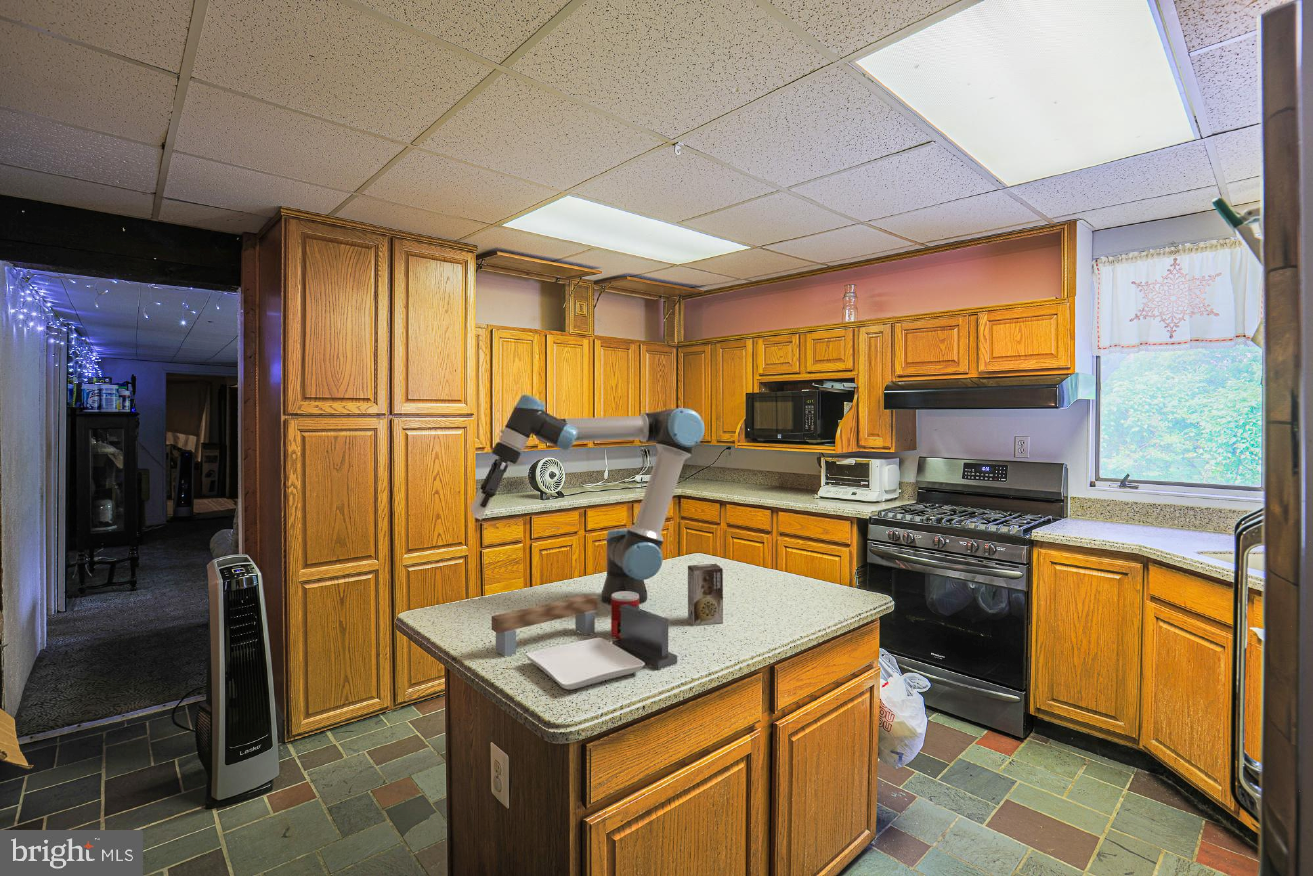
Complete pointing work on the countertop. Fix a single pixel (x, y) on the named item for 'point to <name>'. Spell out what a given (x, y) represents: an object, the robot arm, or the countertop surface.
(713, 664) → the countertop surface
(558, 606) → the walnut bar
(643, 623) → the ridge
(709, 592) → the coffee box
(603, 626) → the countertop surface
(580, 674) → the salad plate
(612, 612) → the canned food
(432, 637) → the countertop surface
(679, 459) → the robot arm
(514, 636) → the support blocks
